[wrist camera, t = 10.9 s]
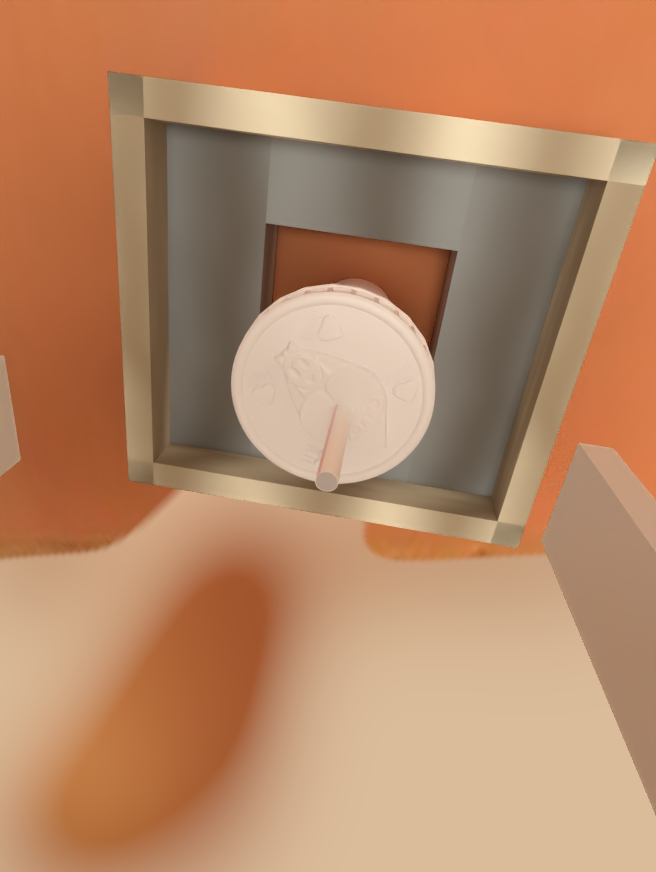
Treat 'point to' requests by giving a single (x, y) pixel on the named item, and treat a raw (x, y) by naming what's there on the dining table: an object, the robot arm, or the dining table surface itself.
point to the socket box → (371, 218)
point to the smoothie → (334, 383)
